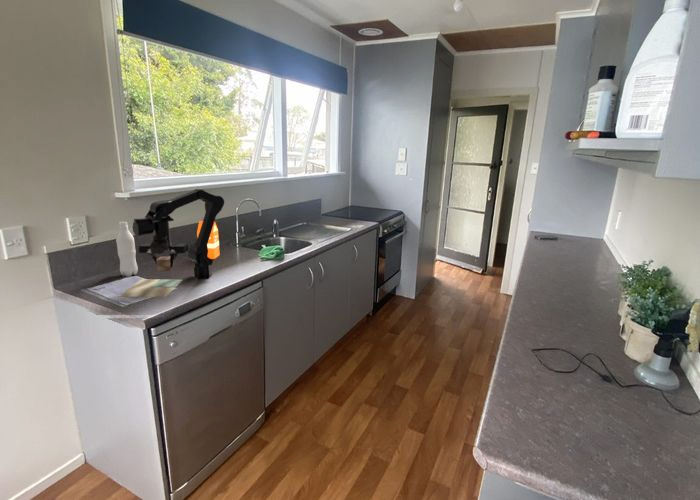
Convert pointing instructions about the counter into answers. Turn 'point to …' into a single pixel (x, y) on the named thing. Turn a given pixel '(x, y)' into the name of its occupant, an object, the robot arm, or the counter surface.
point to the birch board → (151, 288)
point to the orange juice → (212, 241)
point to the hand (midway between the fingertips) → (165, 267)
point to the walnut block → (164, 263)
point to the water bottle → (126, 251)
